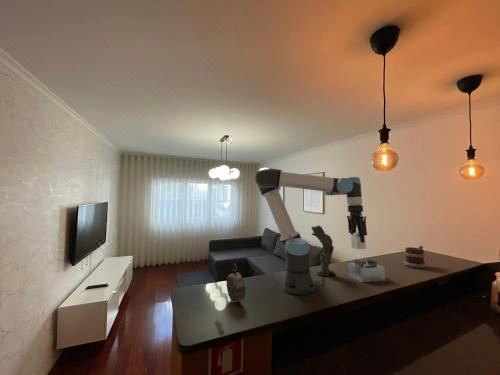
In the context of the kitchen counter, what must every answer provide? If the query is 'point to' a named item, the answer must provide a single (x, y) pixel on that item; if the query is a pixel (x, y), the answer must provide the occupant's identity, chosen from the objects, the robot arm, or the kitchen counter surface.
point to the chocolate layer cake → (415, 258)
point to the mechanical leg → (324, 251)
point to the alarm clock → (235, 287)
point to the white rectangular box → (366, 271)
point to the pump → (356, 241)
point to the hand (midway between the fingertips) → (358, 247)
